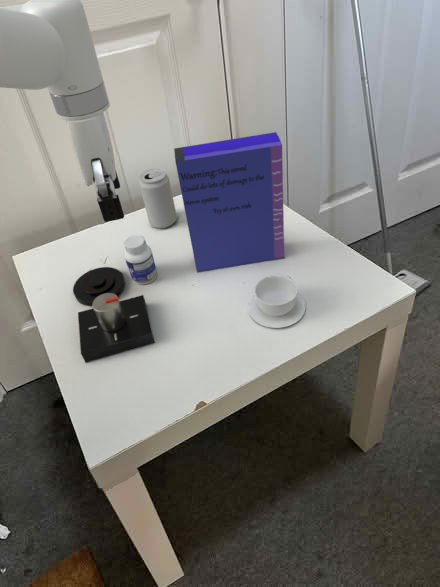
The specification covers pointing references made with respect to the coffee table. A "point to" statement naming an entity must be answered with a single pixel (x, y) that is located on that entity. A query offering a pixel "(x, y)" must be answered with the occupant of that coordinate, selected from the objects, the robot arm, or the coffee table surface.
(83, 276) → the burner
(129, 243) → the pill bottle
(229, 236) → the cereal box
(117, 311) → the hob knob
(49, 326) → the coffee table surface
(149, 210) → the beverage can
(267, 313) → the teacup
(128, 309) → the black angular base
